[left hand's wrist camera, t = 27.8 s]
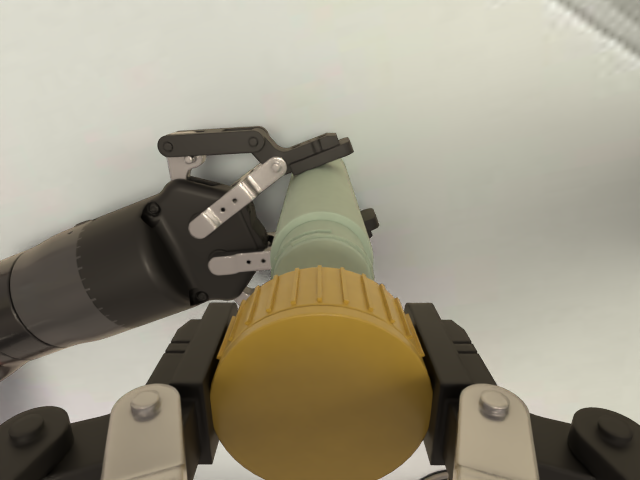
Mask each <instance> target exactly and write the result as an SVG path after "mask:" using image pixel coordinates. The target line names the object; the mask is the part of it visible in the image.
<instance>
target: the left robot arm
mask: <svg viewBox="0 0 640 480" xmlns="http://www.w3.org/2000/svg"><path fill="white" fill-rule="evenodd" d="M237 312H238V308H237V304H236V303H210V304H209V305H208V307H207V309H206V311H205V313H204V315H203V317H202V319H191V320H190V321H188V322H187V323H186V324H184V325H183V326H182V327H180V328H179V329H178V330H177V332H176V334H175V335H174V337H173V339H172V340H171V343H170V344H169V346H168V347H167V349H166V352H165V353H164V354H163V356H162V358H161V359H160V361H159V363H158V365H157V366H156V368H155V370H154V371H153V373H152V375H151V377H150V378H149V380H148V382H147V383H146V385H144V386H141V387H138V388H136V389H134V390H131V391H130V392H128V393H126V394H125V395H124V396H122V397H121V398H120V399H119V400H118V401H117V402H116V403H115V405H114V406H113V408H112V410H111V413H110V414H108V415H104V416H101V417H96V418H92V419H88V420H83V421H79V422H75V423H70V420H69V417H68V414H67V412H66V411H65V410H63V409H62V408H59V407H54V406H44V407H38V408H34V409H30V410H27V411H25V412H22V413H20V414H18V415H16V416H14V417H12V418H10V419H9V420H7V421H5V422H4V423H3V424H1V425H0V480H193V478H194V475H195V472H196V468H197V465H198V464H212V463H213V460H214V456H215V453H216V449H217V446H218V442H219V438H218V436H217V434H216V432H215V430H214V426H213V418H212V410H211V401H210V388H211V383H212V380H213V377H214V374H215V371H216V369H217V366H218V363H219V361H220V360H219V359H217V355H218V353H219V350H220V347H221V345H222V342H223V340H224V337H225V334H226V332H227V329H228V326H229V324H230V321H231V319H232V316H235V317H236V315H237ZM404 313H405V314H409V316H410V318H411V321H412V323H413V326H414V329H415V331H416V334H417V336H418V339H419V342H420V344H421V347H422V349H423V352H424V354H425V356H424V357H422V358H423V361H424V363H425V366H426V369H427V371H428V375H429V378H430V381H431V385H432V389H433V397H432V407H431V415H430V423H429V428H428V431H427V433H426V435H425V437H424V439H423V441H424V444H425V448H426V451H427V454H428V458H429V461H430V465H445V466H446V469H447V472H448V480H640V425H638V424H637V423H636V422H634V421H632V420H631V419H629V418H627V417H625V416H623V415H621V414H619V413H616V412H613V411H610V410H607V409H602V408H592V407H589V408H583V409H580V410H578V411H577V412H576V413H575V414H574V417H573V420H572V423H571V424H570V423H565V422H561V421H557V420H552V419H548V418H544V417H540V416H536V415H534V414H531V413H529V410H528V408H527V406H526V405H525V403H524V402H523V401H522V400H521V399H520V398H519V397H518V396H516V395H515V394H514V393H512V392H510V391H509V390H506V389H504V388H502V387H499V386H497V384H496V382H495V381H494V379H493V377H492V376H491V374H490V372H489V371H488V369H487V367H486V365H485V364H484V362H483V360H482V359H481V357H480V355H479V354H477V350H476V349H475V347H474V345H473V344H471V340H470V338H469V337H468V335H467V333H466V332H465V330H464V329H463V328H461V327H460V326H459V325H457V324H456V323H455V322H453V321H452V320H441V319H440V317H439V315H438V313H437V311H436V309H435V307H434V305H433V304H432V303H406V305H405V309H404Z"/></svg>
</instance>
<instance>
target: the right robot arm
mask: <svg viewBox="0 0 640 480" xmlns="http://www.w3.org/2000/svg"><path fill="white" fill-rule="evenodd" d="M158 150H159V152H160V153H161V154H162V155H163V156H165V157H167V161H168V167H169V172H170V177H171V181H170V182H169V183H167V184H166V186H165V187H164V188H163V190H162V191H161V192H160V193H159V194H157V195H154V196H152V197H149V198H147V199H144V200H142V201H139V202H137V203H134V204H132V205H129V206H127V207H124V208H121V209H119V210H116V211H114V212H111V213H109V214H106V215H104V216H101V217H99V218H96V219H94V220H88V221H84V222H81V223H79V224H77V225H76V226H74V227H73V228H71V229H69V230H66V231H64V232H61V233H59V234H57V235H55V236H53V237H51V238H49V239H47V240H46V241H44V242H42V243H41V244H39V245H37V246H35V247H33V248H31V249H29V250H26V251H24V252H21V253H18V254H16V255H13V256H11V257H8V258H6V259H3V260H1V261H0V382H1V381H2V380H4V379H5V378H7V377H8V376H10V375H11V374H12V373H14V372H15V371H16V370H17V369H19V368H20V367H21V366H23V365H24V364H26V363H27V362H28V361H31V360H34V359H37V358H40V357H43V356H46V355H48V354H51V353H54V352H57V351H60V350H62V349H65V348H68V347H71V346H74V345H77V344H81V343H86V342H92V341H97V340H101V339H104V338H108V337H110V336H113V335H116V334H119V333H122V332H125V331H127V330H130V329H133V328H136V327H139V326H142V325H145V324H147V323H150V322H153V321H156V320H159V319H162V318H164V317H167V316H170V315H173V314H176V313H179V312H181V311H184V310H187V309H190V308H193V307H195V306H198V305H200V304H202V303H204V302H206V301H209V300H225V301H229V300H233V299H234V300H235V301H236V302H237V303H238V304H239V305H240V304H241V302H242V300H243V299H244V300H245V301H246V300H247V298H248V297H249V296H250V295H251V294H252V293H253V292H254V291H255V288H249V287H247V285H248V283H249V282H250V280H251V278H252V277H253V275H254V274H255V272H256V271H258V270H270V269H271V265H270V252H271V247H272V243H273V240H274V236H275V233H276V232H268V233H267V232H266V230H265V228H264V226H263V225H262V224H261V222H260V221H259V220H258V219H257V217H256V212H255V206H254V204H253V201H252V200H254V199H255V198H256V197H257V196H258V195H259V194H260V193H261V192H262V191H264V190H265V189H266V188H268V187H269V186H270V185H272V184H273V183H274V182H275V181H277V180H278V179H279V178H281V177H282V176H284V175H286V174H289V173H291V172H292V173H293V176H295V175H298V174H301V173H303V172H305V171H308V170H311V169H314V168H316V167H319V166H321V165H324V164H327V163H329V162H332V161H334V160H337V159H340V158H342V157H345V156H347V155H350V154H351V153H353V152H354V151H353V148H352V145H351V142H350V140H349V138H348V137H346V138H343V139H340V140H338V138H337V135H336V133H325V134H323V135H320V136H318V137H315V138H313V139H310V140H308V141H305V142H302V143H300V144H297V145H295V146H292V147H290V148H283V147H280V146H278V145H277V144H276V143H275V142H274V141H273V140H272V138H271V137H270V136H269V134H268V132H267V130H266V129H265V128H263V127H261V126H254V127H237V128H220V129H203V130H186V131H177V132H174V133H171V134H168V135H166V136H163V137H161V138H160V139H159V141H158ZM239 153H252V154H253V155H254V156H255V157H256V159H257V160H258V161H259V162H260V163H259V164H258V165H257V166H256V167H254V168H253V169H251V170H250V171H248V172H247V173H246V174H245V175H243V176H242V177H241V178H240V179H238V180H237V181H236V182H234V183H233V184H232V185H231V186H228V185H224V184H220V183H216V182H212V181H209V180H205V179H201V178H197V177H193V176H190V173H191V170H192V168H196V167H198V166H200V165H201V164H203V163H204V162H205V160H206V155H222V154H239ZM360 212H361V216H362V219H363V222H364V225H365V228H366V231H367V234H368V237H369V238H370V237H372V233H371V230H374V229H376V228H377V227H378V226H379V223H378V220H377V217H376V215H375V212H374V210H373V209H372V208H369V209H365V210H362V211H360ZM264 259H265V260H264ZM260 287H261V286H260ZM424 480H448V472H442V473H438V474H435V475H432V476H430V477H428V478H426V479H424Z"/></svg>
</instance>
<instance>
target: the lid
mask: <svg viewBox="0 0 640 480" xmlns="http://www.w3.org/2000/svg"><path fill="white" fill-rule="evenodd" d="M424 356H425V354H424V352H423V349H422V347H421V344H420V342H419V339H418V336H417V334H416V331H415V329H414V326H413V323H412V321H411V318H410V316H409V314H405V313H404V311H403V308H402V306H401V303H400V300H399V299H398V298H394V297H393V296H392V295H391V294H390V293H389V292H388V291H387V290H386V289H385V286H384V285H383V284H381V285H379V284H377V283H376V282H374V281H373V280H371V279H369V278H367V277H366V275H365V274H363V273H362V275H360V274H357V273H354V272H352V271H348V270H345V268H343V267H340V269H339V268H330V267H322V265H318V266H317V267H311V268H304V269H299V268H295V271H291V272H287V273H285V274H282V275H280V276H278V275H275V276H274V277H273V279H272V280H270V281H268V282H266V283H265V284H263V285H262V286H261V287H260V286H259V285H258V286H257V287H256V288H255V291H254V292H253V293H252V294H251V295H250V296H249V297H248V298H247V300H246V301H245V300H244V299H243V300H242V302H241V304H240V307H239V309H238V312H237V315H236V317H235V316H232V319H231V321H230V324H229V326H228V329H227V332H226V334H225V337H224V340H223V342H222V345H221V347H220V350H219V353H218V355H217V359H219V360H220V361H219V363H218V366H217V369H216V371H215V374H214V377H213V380H212V383H211V388H210V401H211V410H212V418H213V426H214V430H215V432H216V434H217V436H218V438H219V440H220V442H221V443H222V445H223V446H224V447H225V449H226V450H227V451H228V453H229V454H230V455H231V456H232V457H233V458H234V459H235V460H236V461H237V462H238V463H240V464H241V465H242V466H243V467H244V468H246V469H247V470H249V471H250V472H252V473H253V474H255V475H257V476H259V477H261V478H263V479H265V480H378V479H380V478H382V477H384V476H385V475H387V474H389V473H391V472H392V471H394V470H395V469H396V468H398V467H399V466H401V465H402V464H403V463H404V462H405V461H406V460H407V459H408V458H410V457H411V455H412V454H413V453H414V452H415V451H416V449H417V448H418V447H419V446H420V444H421V442H422V441H423V439H424V437H425V435H426V433H427V431H428V428H429V423H430V415H431V407H432V397H433V389H432V385H431V381H430V378H429V375H428V371H427V369H426V366H425V363H424V361H423V358H422V357H424Z"/></svg>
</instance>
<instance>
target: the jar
mask: <svg viewBox="0 0 640 480" xmlns="http://www.w3.org/2000/svg"><path fill="white" fill-rule="evenodd" d="M270 265H271V280H272V279H273V277H274V276H275V275H278V276H280V275H282V274H285V273H287V272H291V271H295V268H299V269H304V268H311V267H317V266H318V265H322V267H330V268H339V269H340V267H343V268H345V270H348V271H352V272H354V273H357V274H360V275H362V273H363V274H365V275H366V277H367V278H369V279H371V280H373V281H374V273H373V268H372V265H373V251H372V246H371V243H370V240H369V237H368V234H367V231H366V228H365V225H364V222H363V219H362V216H361V212H360V209H359V206H358V203H357V200H356V197H355V194H354V191H353V188H352V185H351V182H350V179H349V176H348V173H347V170H346V167H345V164H344V162H343V161H342V159H341V158H340V159H337V160H334V161H332V162H329V163H327V164H324V165H321V166H319V167H316V168H314V169H311V170H308V171H305V172H303V173H301V174H298V175H295V176H293V173H292V175H291V179H290V183H289V186H288V190H287V193H286V197H285V201H284V204H283V208H282V211H281V215H280V218H279V222H278V226H277V229H276V233H275V236H274V240H273V243H272V247H271V252H270Z"/></svg>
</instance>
